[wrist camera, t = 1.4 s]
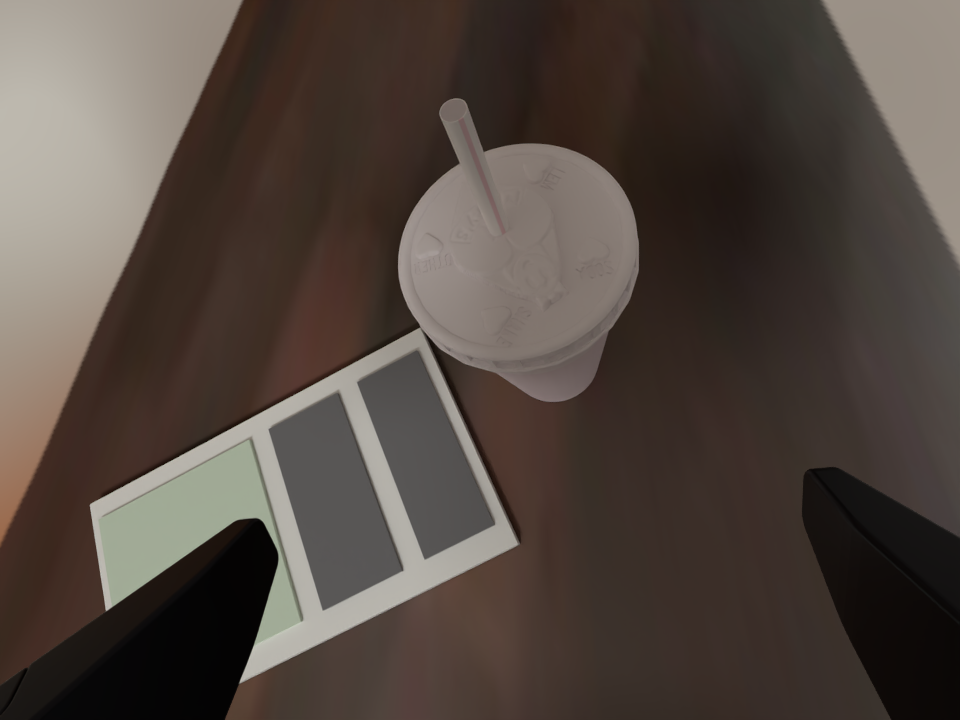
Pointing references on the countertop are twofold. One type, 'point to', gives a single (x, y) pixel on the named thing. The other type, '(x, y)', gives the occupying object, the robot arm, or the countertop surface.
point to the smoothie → (520, 260)
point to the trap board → (323, 501)
